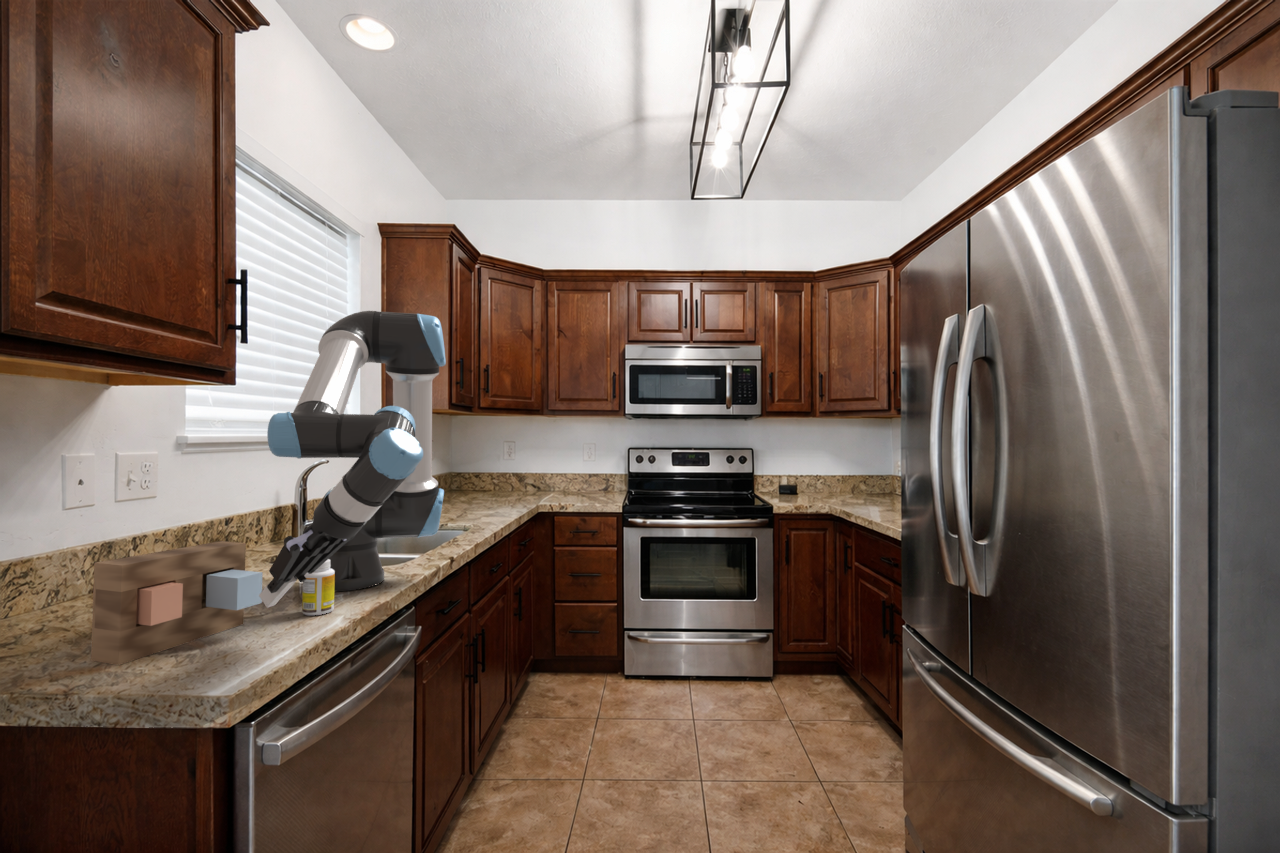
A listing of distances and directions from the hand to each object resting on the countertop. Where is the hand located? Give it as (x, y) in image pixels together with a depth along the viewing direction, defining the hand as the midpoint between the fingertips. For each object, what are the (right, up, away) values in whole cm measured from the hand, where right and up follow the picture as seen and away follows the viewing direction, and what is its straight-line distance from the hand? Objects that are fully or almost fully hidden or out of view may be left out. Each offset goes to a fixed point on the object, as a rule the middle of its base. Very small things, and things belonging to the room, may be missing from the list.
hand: (266, 600), depth 97 cm
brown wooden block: (-15, -7, -1) cm, 17 cm away
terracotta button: (-15, -1, -6) cm, 16 cm away
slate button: (-7, -1, +2) cm, 8 cm away
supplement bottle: (0, -7, +16) cm, 17 cm away
